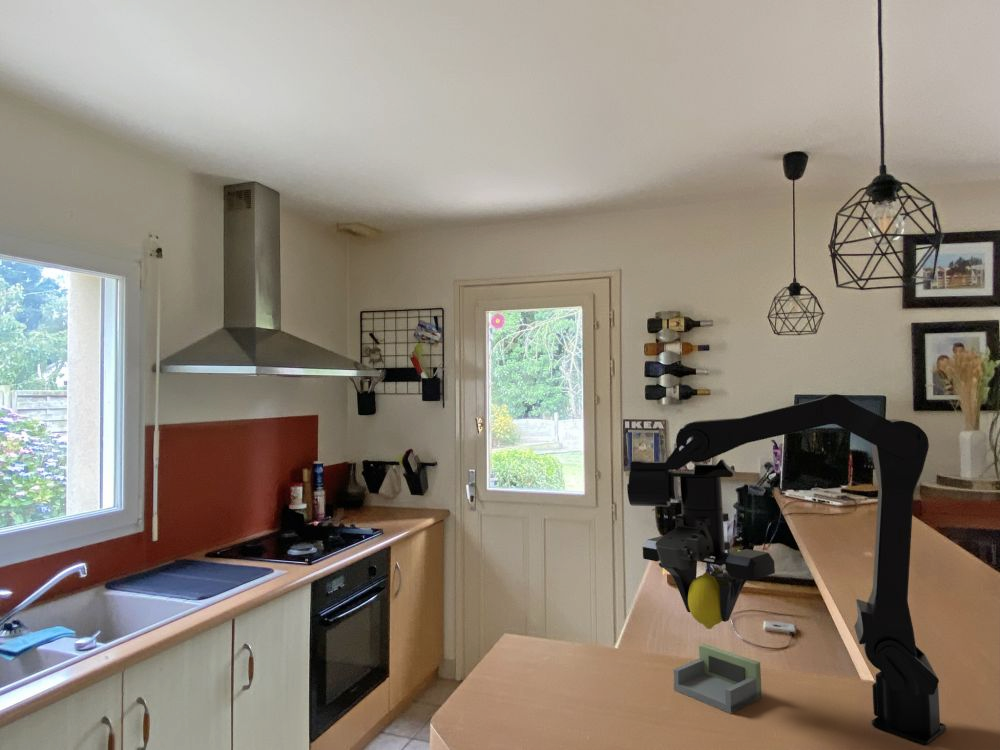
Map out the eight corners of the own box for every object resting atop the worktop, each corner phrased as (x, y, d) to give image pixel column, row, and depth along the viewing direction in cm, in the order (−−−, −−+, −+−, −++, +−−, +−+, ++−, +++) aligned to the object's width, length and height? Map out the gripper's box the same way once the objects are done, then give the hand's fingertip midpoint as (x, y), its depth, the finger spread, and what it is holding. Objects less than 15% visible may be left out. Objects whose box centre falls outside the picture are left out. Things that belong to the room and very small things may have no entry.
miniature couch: (761, 697, 94) (760, 662, 94) (730, 713, 90) (729, 676, 90) (705, 676, 102) (703, 643, 102) (673, 689, 97) (672, 655, 98)
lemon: (720, 621, 98) (717, 567, 98) (735, 634, 92) (732, 576, 93) (683, 623, 97) (681, 569, 98) (697, 636, 92) (694, 579, 92)
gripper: (615, 508, 98) (620, 614, 97) (726, 523, 83) (733, 648, 82) (663, 499, 105) (668, 598, 104) (773, 511, 90) (780, 626, 89)
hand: (707, 616), depth 95 cm, fingers closed on lemon, 5 cm apart
